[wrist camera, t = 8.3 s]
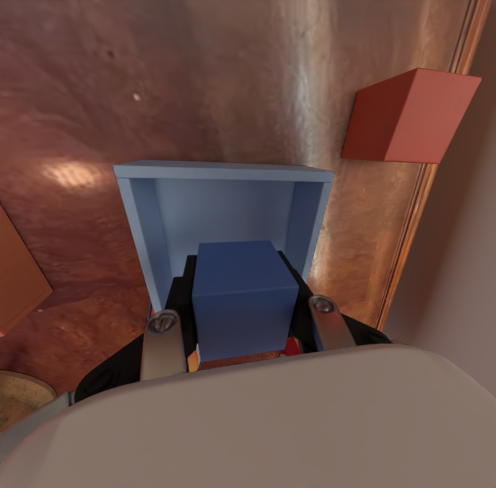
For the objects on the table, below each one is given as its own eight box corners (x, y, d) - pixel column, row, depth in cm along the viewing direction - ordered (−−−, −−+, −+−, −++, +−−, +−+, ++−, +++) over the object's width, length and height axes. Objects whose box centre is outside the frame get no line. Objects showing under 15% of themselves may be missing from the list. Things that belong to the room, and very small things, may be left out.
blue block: (198, 242, 11) (191, 295, 7) (270, 239, 11) (299, 286, 8) (204, 297, 13) (200, 362, 9) (264, 292, 13) (285, 349, 10)
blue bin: (142, 159, 13) (111, 165, 9) (303, 165, 15) (335, 172, 11) (170, 290, 18) (158, 328, 14) (282, 281, 20) (299, 312, 17)
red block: (357, 90, 13) (418, 66, 9) (408, 96, 14) (483, 76, 10) (340, 157, 15) (383, 161, 11) (384, 159, 16) (439, 163, 12)
